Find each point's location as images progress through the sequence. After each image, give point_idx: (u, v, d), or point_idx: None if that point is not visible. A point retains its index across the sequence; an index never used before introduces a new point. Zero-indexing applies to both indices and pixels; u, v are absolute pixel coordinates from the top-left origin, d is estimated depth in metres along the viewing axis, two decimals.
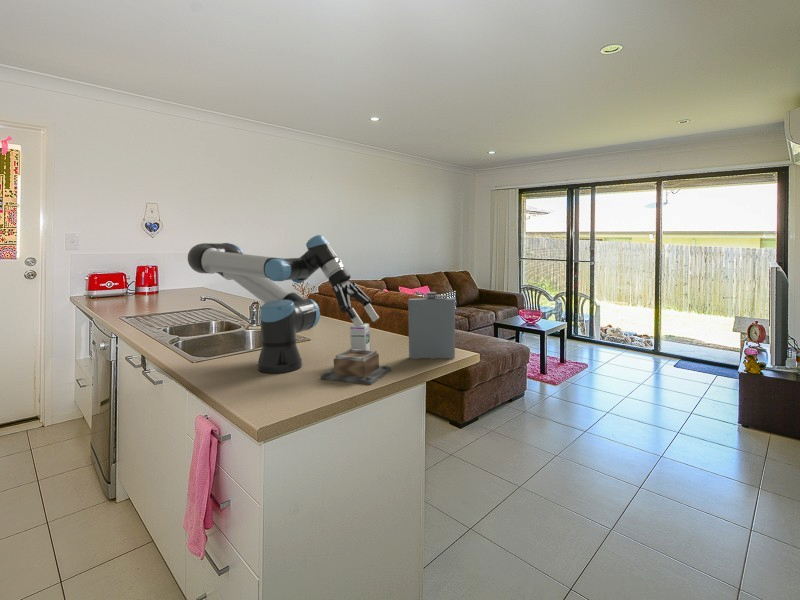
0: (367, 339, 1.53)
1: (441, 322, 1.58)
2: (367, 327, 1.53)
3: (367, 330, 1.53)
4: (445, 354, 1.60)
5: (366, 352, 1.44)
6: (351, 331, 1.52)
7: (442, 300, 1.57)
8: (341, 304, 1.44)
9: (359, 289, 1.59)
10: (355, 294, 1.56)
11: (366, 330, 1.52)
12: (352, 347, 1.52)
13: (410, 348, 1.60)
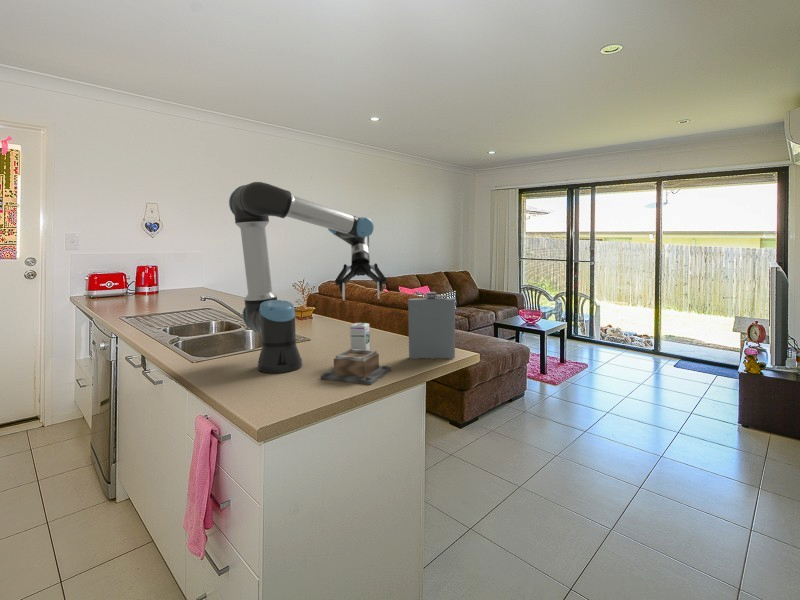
0: (367, 339, 1.53)
1: (441, 322, 1.58)
2: (367, 327, 1.53)
3: (367, 330, 1.53)
4: (445, 354, 1.60)
5: (366, 352, 1.44)
6: (351, 331, 1.52)
7: (442, 300, 1.57)
8: None
9: (344, 274, 1.74)
10: (352, 275, 1.72)
11: (366, 330, 1.52)
12: (352, 347, 1.52)
13: (410, 348, 1.60)
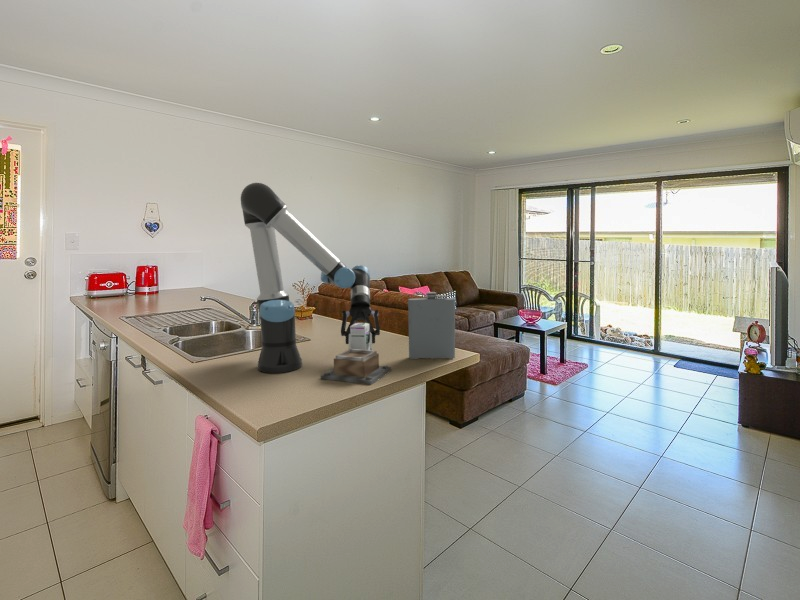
0: (367, 339, 1.53)
1: (441, 322, 1.58)
2: (367, 327, 1.53)
3: (367, 330, 1.53)
4: (445, 354, 1.60)
5: (366, 352, 1.44)
6: (351, 330, 1.52)
7: (442, 300, 1.57)
8: None
9: (346, 321, 1.60)
10: (355, 321, 1.59)
11: (366, 330, 1.52)
12: (352, 347, 1.52)
13: (410, 348, 1.60)
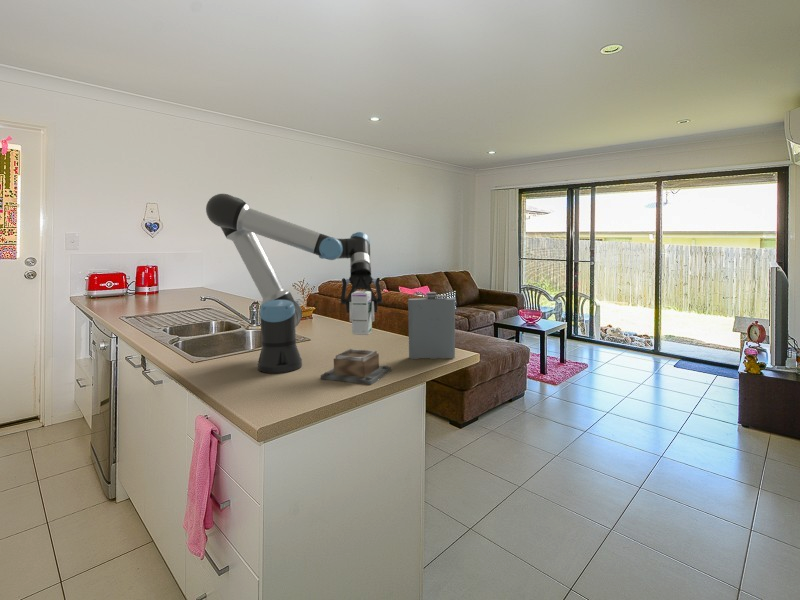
0: (369, 307, 1.45)
1: (441, 322, 1.58)
2: (369, 295, 1.45)
3: (369, 298, 1.45)
4: (445, 354, 1.60)
5: (366, 352, 1.44)
6: (352, 298, 1.43)
7: (442, 300, 1.57)
8: None
9: None
10: (355, 289, 1.51)
11: (368, 298, 1.44)
12: (353, 316, 1.44)
13: (410, 348, 1.60)
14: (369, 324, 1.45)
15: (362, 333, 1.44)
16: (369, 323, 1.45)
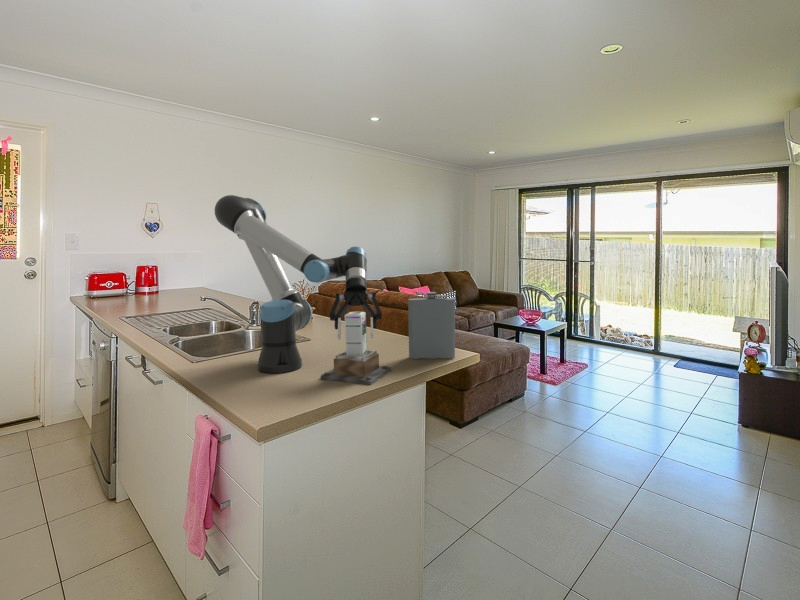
0: (363, 329, 1.38)
1: (441, 322, 1.58)
2: (363, 316, 1.39)
3: (363, 320, 1.38)
4: (445, 354, 1.60)
5: None
6: (345, 320, 1.37)
7: (442, 300, 1.57)
8: None
9: (338, 306, 1.46)
10: (348, 306, 1.44)
11: (362, 319, 1.37)
12: (347, 338, 1.38)
13: (410, 348, 1.60)
14: (364, 347, 1.39)
15: (357, 356, 1.38)
16: (364, 345, 1.39)
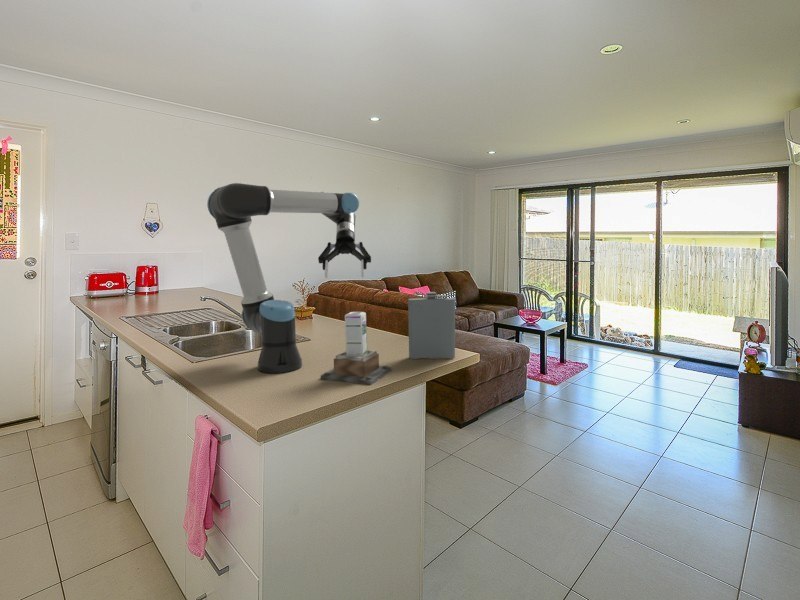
0: (364, 329, 1.39)
1: (441, 322, 1.58)
2: (363, 316, 1.39)
3: (363, 320, 1.39)
4: (445, 354, 1.60)
5: None
6: (345, 320, 1.37)
7: (442, 300, 1.57)
8: None
9: (328, 252, 1.69)
10: (336, 253, 1.67)
11: (362, 319, 1.38)
12: (347, 338, 1.38)
13: (410, 348, 1.60)
14: (364, 347, 1.39)
15: (357, 356, 1.38)
16: (364, 346, 1.39)
